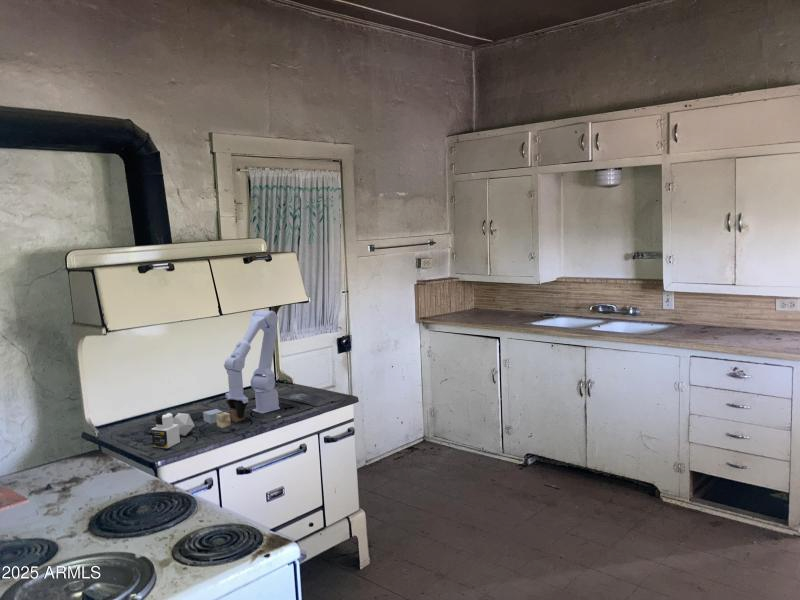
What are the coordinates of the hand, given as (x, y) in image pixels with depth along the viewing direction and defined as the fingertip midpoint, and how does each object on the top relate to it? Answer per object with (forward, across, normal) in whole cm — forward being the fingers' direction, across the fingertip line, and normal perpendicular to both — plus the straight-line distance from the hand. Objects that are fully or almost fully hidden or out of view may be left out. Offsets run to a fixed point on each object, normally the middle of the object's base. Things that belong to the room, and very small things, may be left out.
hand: (238, 416), depth 274 cm
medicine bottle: (+2, +5, -34) cm, 34 cm away
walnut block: (+1, 0, 0) cm, 1 cm away
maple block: (+2, +2, -8) cm, 8 cm away
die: (+2, -2, -24) cm, 24 cm away
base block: (+2, -8, -7) cm, 11 cm away
